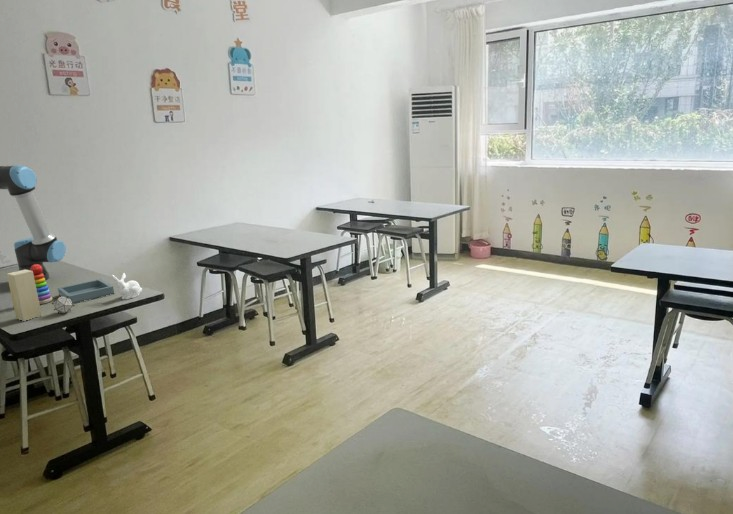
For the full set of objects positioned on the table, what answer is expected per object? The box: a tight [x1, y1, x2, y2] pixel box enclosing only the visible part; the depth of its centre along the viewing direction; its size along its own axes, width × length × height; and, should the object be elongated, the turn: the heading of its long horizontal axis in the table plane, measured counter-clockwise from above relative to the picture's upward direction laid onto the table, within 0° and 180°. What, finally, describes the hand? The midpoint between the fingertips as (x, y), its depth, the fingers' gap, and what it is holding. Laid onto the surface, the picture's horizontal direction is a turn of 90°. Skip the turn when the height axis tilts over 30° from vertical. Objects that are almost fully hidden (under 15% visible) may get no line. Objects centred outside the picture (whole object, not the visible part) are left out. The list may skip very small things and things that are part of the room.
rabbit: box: [111, 272, 143, 300], centre depth 263 cm, size 12×9×12 cm
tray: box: [57, 278, 115, 305], centre depth 270 cm, size 20×20×4 cm
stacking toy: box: [30, 264, 53, 305], centre depth 260 cm, size 8×8×19 cm
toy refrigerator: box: [6, 270, 42, 322], centre depth 239 cm, size 8×7×21 cm
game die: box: [51, 295, 76, 315], centre depth 244 cm, size 9×8×10 cm
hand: (1, 256), depth 253 cm, fingers open, 13 cm apart
